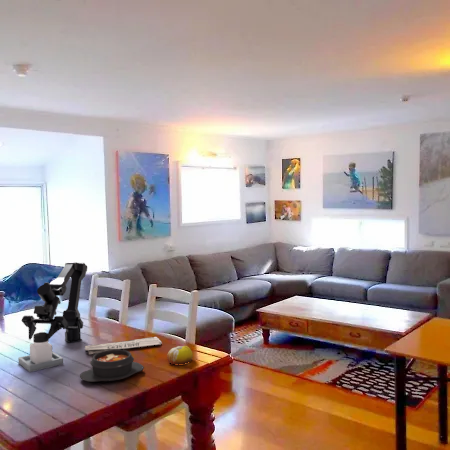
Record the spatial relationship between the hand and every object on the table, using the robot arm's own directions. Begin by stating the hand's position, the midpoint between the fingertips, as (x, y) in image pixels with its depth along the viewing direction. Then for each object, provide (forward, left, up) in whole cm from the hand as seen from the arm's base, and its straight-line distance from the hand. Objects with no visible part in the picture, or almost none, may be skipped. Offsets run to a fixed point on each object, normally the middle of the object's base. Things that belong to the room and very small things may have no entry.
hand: (38, 339), depth 200 cm
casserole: (-17, +33, -11) cm, 39 cm away
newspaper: (-38, +5, -12) cm, 40 cm away
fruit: (-46, +38, -11) cm, 61 cm away
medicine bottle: (-1, -1, -10) cm, 10 cm away
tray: (-1, -1, -11) cm, 11 cm away
